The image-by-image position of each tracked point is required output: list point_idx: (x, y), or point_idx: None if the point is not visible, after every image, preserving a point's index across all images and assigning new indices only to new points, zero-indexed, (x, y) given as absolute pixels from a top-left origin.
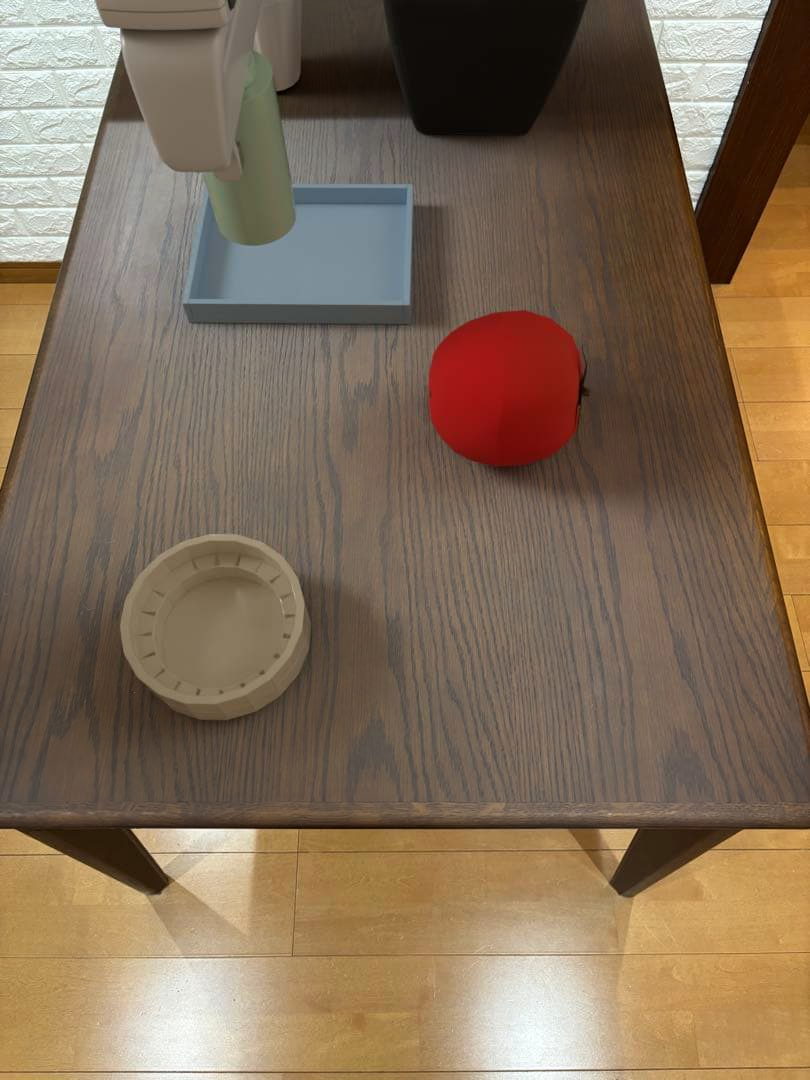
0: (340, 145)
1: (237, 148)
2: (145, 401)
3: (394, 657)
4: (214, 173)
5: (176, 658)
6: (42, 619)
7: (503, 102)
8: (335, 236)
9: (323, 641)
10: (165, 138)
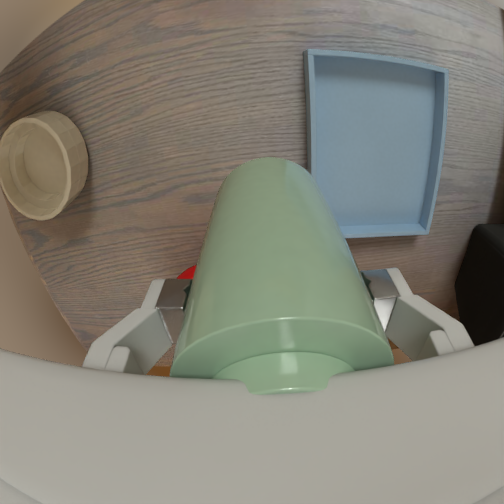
0: (479, 172)
1: (165, 350)
2: (209, 34)
3: (72, 242)
4: (151, 284)
5: (32, 139)
6: (41, 51)
7: (466, 291)
8: (396, 171)
9: (66, 208)
10: None
